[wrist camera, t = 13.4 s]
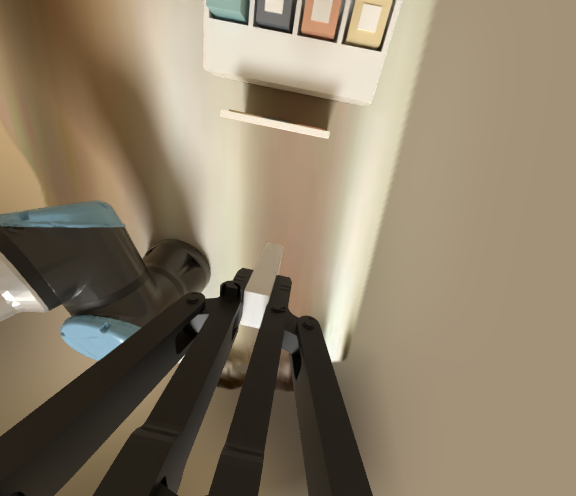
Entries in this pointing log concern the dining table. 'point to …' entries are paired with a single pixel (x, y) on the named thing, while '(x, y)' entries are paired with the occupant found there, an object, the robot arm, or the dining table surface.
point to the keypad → (297, 56)
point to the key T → (367, 23)
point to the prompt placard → (275, 123)
